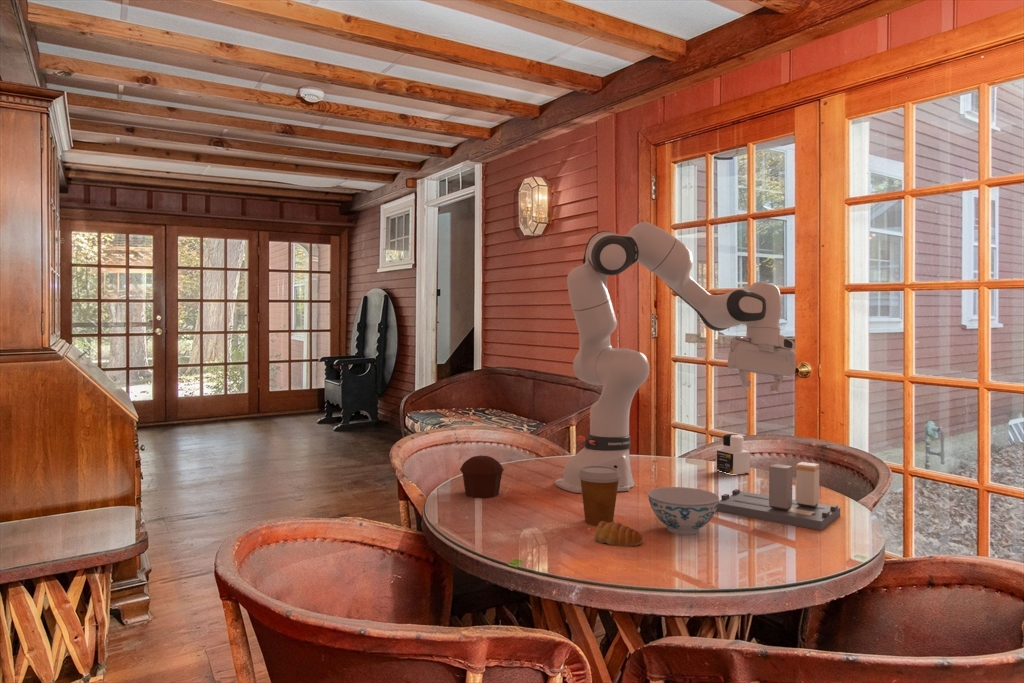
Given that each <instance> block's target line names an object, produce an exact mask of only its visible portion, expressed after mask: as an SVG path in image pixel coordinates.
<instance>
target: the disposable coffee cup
mask: <svg viewBox="0 0 1024 683" xmlns="http://www.w3.org/2000/svg"><path fill="white" fill-rule="evenodd" d="M578 475H579V476H580V479H581V488H582V493H581V495H582V496H581V498H582V505H583V513H584V522H585V523H586V524H588V525H592V526H595V527H597V526H598V524H599V522H601V521H605V522H607V523H610V522H614V518H615V509H616V503H617V494H618V491H617V488H618V481H619V479H620V477H621V475H620V474H619V470H618V469H617V468H614V467H609V466H585V467H582V468H581V469H580V473H579V474H578Z"/></svg>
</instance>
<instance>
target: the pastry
mask: <svg viewBox="0 0 1024 683" xmlns="http://www.w3.org/2000/svg"><path fill="white" fill-rule="evenodd" d="M594 538H595V540H596V541H597V542H599V543H600V544H601V543H602V544H604V543H606V544H608V545H610V546H619V547H634V546H635V547H637V546H639V545H641V543H642V541H643V538H644V537H643V535H642V534H641V533H640V532H639V531H637V530H635V529H634V528H631V527H629V526H626V525H623V524H622V523H620V522H616V523H615V522H614V521H613V522H610V523H607V522H605V521H601V522H599V524H598V526H596V529H595V534H594Z"/></svg>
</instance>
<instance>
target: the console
mask: <svg viewBox="0 0 1024 683" xmlns="http://www.w3.org/2000/svg"><path fill="white" fill-rule="evenodd" d="M720 498H721V499H719V502H718V506H717V509H716V512H719V513H726V514H731V515H737V516H742V517H748V518H751V519H756V520H757V519H758V520H763V521H768V522H773V523H780V524H785V525H790V526H795V527H799V528H806V529H812V530H816V531H823V530H824V529H826V528H827V527H828V526H829V525H830V524H832V523H833V522H834V521H836V520H837V519H838V518H839V517H840V516H841V507H840V506H838V505H837V504H831V505H828V504H822V503H818V506H817V507H815V508H814V507H808V506H802V505H797V503H796V499H793V498H792V506H791V509H789V510H782V509H776V508H770V506H769V494H768V495H767V494H763V493H754V492H749V491H741V489H740V488H739V489H736V488H735V489H733V490H732V492H731V494H728V493H724V494H722V495H721V497H720Z"/></svg>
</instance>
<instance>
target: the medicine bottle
mask: <svg viewBox="0 0 1024 683" xmlns="http://www.w3.org/2000/svg"><path fill="white" fill-rule="evenodd" d="M722 439H723V440H722V443H723V444H722V445H723V446H722V447H723V448H718V449H716V471H717V470H719V471H722V472H726V473H730V474H738V473H743V472H748V471H751V470H750V469H751V465H750V464H751V462H750V461H751V458H750V457H751V452H750V451H749V450H746V449H744V440H745V439H744V436H743V435H741V434H735V433H727V434H725V435H723V437H722Z"/></svg>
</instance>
